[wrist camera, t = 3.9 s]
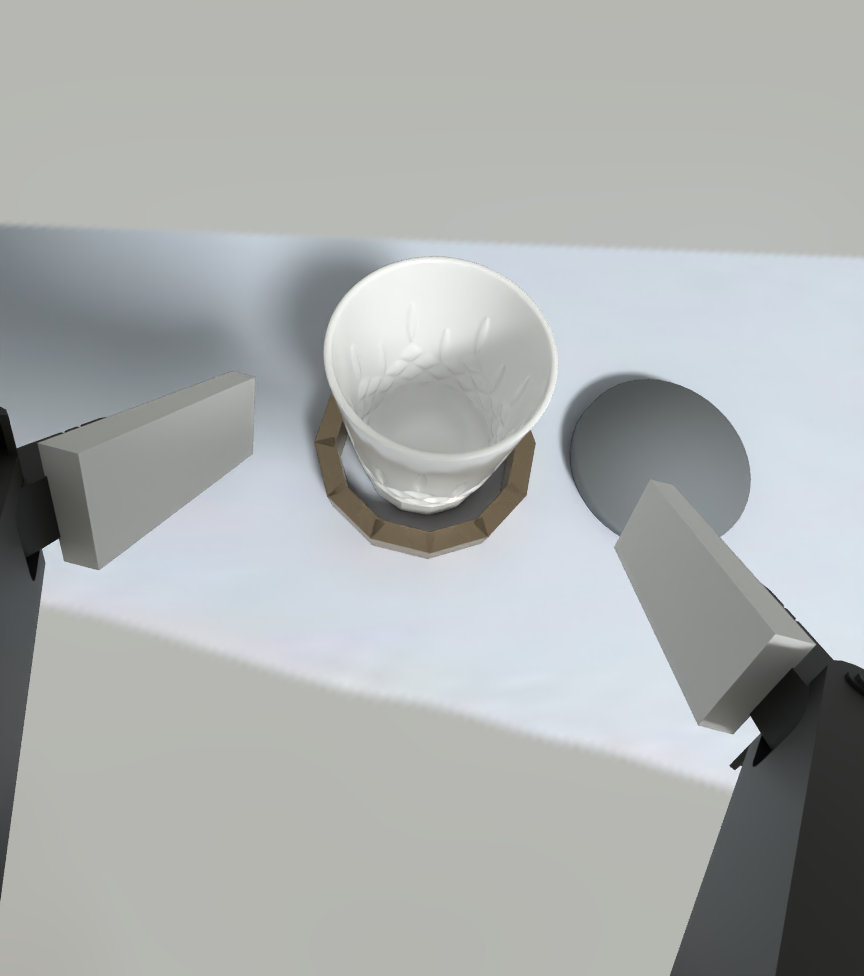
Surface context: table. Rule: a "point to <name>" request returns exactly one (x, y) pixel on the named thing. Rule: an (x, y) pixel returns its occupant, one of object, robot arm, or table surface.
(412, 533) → the collar
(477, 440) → the white cup
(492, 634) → the table surface
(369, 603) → the table surface
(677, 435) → the coaster
